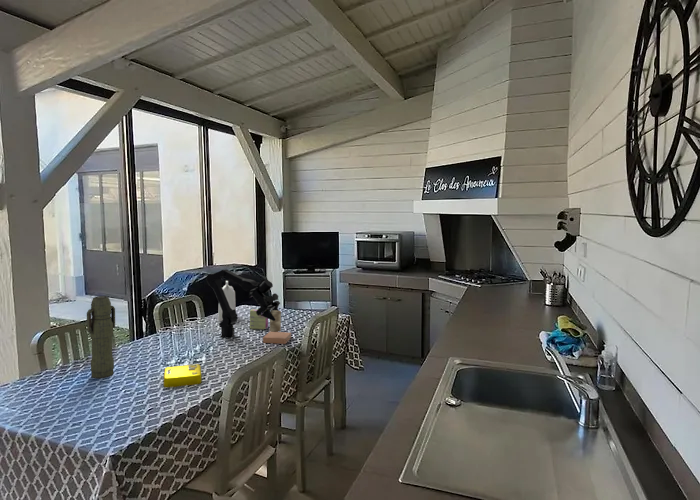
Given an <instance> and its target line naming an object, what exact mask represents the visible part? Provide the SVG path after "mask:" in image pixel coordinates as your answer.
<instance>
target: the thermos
mask: <svg viewBox="0 0 700 500" xmlns="http://www.w3.org/2000/svg"><path fill="white" fill-rule="evenodd" d="M111 303H112V302H111V299H110V297H109V296H107V295H99V296H98V295H97V296H94V297H93V298H92V299H91V303H90V308H89V309H88V310H87V312H86V332H87V333H89V338H90V339H91V360H90V372H91V375H90V376H91V378H92V379H98V380H99V379H100V380H101V379H106V378H110V377H112V376H113V375H114V374H115V373H114V372H115V371H114V369H115V364H114V363H115V360H114V356H113V336H114V329H115V328H116V308H115V306H114V305H112V304H111Z"/></svg>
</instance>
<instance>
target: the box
mask: <svg viewBox="0 0 700 500" xmlns="http://www.w3.org/2000/svg"><path fill="white" fill-rule="evenodd" d="M258 309H259V308H258ZM258 309H257V308H252V309H251V310H249V329H251V330H264V329H266V328H267V327H268V328H269V318H266V317H264V316H261V315H262V313H261V315H260V316H258V315H257V314H256V311H257V310H258ZM268 328H267V329H268ZM267 329H266V330H267Z"/></svg>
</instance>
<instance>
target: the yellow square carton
mask: <svg viewBox="0 0 700 500" xmlns="http://www.w3.org/2000/svg"><path fill="white" fill-rule="evenodd" d="M201 383H202V366H201V365H200V364H199V363H198V364H197V363H196V364H185V365H178V366H177V365H176V366H167V367H165V368H164V373H163V387H164V388H177V387H184V386H194V385H200V384H201Z"/></svg>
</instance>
